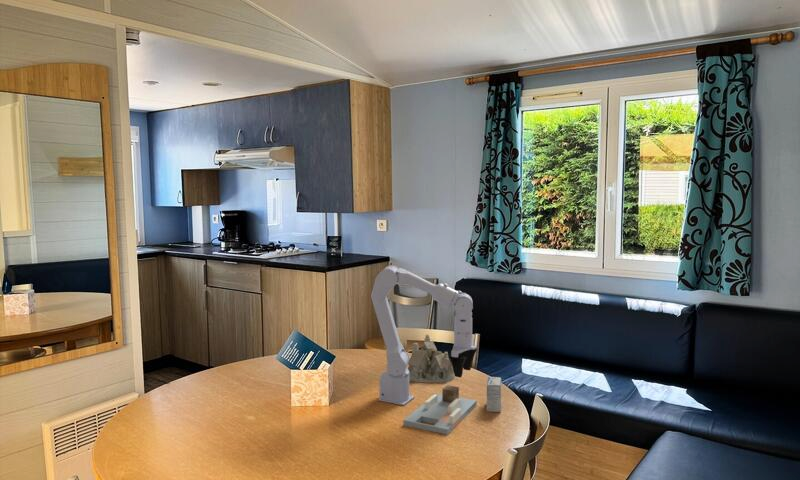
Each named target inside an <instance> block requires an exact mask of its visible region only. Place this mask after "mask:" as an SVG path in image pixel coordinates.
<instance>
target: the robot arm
mask: <svg viewBox="0 0 800 480" xmlns="http://www.w3.org/2000/svg"><path fill="white" fill-rule="evenodd" d="M397 284H398V287H402V286H411V287H413V288H415V289H417V290H421V291H422V292H425V293H427V294H429V295H430V296H432V297H431V298H432V300H434V301H435V302H438V303H440V304H442V305H444V306H446V307H448V308H453V309H454V311H455V312H454V313H455V314H454V315H455V316H454V321H453V322H454V324H453V327H454V329H453V330H454V331H453V332H454V335H453V338H454V339H453V345H452V346H453V347H452V350H450V351H451V353H448V358H449V360H450V361H451V364H452V367H453V371H454V375H455V378H462V376H463V372H464V370H465V371H471V369H472V365H473V360H474V358H475V355H476V352H478V348H477V347H476V345H475V340H474V339H473V317H472V316H473V312H472V310H473V309H474V306H473V305H474V304H473V303H474V302H473V299H472V296H471V295H469V294H467V293H466V292H462V291H461V290H456V289H453V288H452V287H449V284H448V283H444V284H443V283H441V282H440V283H437V284H434V283H433V282H431V281H428V280H426V279H424V278H423V277H420V276H419V275H416V274H414V273H413V272H411V271H409V270H407V269H404V268H402V267H398V266H396V265H394V264H389V265H386V266H385V268H383V269H382V270H381V271H380V272H379V273H378V274H377V276H376V277H375V279H374V284H373V287H372V291H371V294H370V297H371V298H370V299H371V301H372V305H373V308H374V313H375V314H376V315H375V316H376V318H377V323H378V324H379V325H378V326H379V328H380V331H381V335H382V338H383V342H384V345H385V354H386V355H385V356H386V360H387V362H386V370H385V371H382V373H381V374H380V378H379V398H378V401H380V402H385V403H389V404H395V405H400V406H405V405H406V404H408V403H409V402H410V401H412V400H413V399H414V398H415V396H414V395H412V394H411V395H410V380H409V370H408V367H407V366H409V365H408V363H409V360H410V355H409V353H408V352H407V351H406V350H405V348H404V345H403V343H402V342H401V340H400V339H401V338H400V335H399V333H398V330H397V326H396V323H395V318H394V316H393V312H392V309H391V305H390V302H389V299H388V296H389V294H390V292H391V291H392V289H393V288H394V287H395V286H396V285H397Z"/></svg>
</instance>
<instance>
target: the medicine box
mask: <svg viewBox="0 0 800 480" xmlns="http://www.w3.org/2000/svg"><path fill="white" fill-rule="evenodd" d="M502 380H503V379H502V377H499V376H498V377H497V376H488V377H487V381H486V382H487V383H486V412H490V413H491V412H492V413H501V412H502V385H503V384H502V382H503V381H502Z"/></svg>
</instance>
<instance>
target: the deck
mask: <svg viewBox="0 0 800 480" xmlns="http://www.w3.org/2000/svg"><path fill="white" fill-rule="evenodd" d="M477 401H478V400H476V399H471V398H464V397H460V396H459V399H455V400H454V401H453V402H452V403H449V402H444V401H442V393H438V392H436V393H435V394H433V395H432V396H431V397H429V398H428V399H426V400H425V401H424V403H423V404H421V406H419V407H418V408H417V409H416V410H414V411H413V412H412V413H410V414H409V415H408V416H406V417H405V418H404V419H403V426H404V427H409V428H414V429H419V430H423V431H426V432H427V431H428V432H433V433H438V434H442V435H446V436H447V435H449V434H450V433H452V431H453V430H454V429H455V428H456V427H457V426H458V425H459V424H460V423H461V422H462V421H463V420H464V419H465V418H466V417H467V416H468V414H470V413H471V412H472V411H473V409H475V407H476V406H478V405H477ZM422 422H423V423H422ZM432 424H433V425H432Z"/></svg>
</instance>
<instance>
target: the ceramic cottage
mask: <svg viewBox="0 0 800 480" xmlns="http://www.w3.org/2000/svg"><path fill="white" fill-rule="evenodd" d="M448 355H449V353H448V351H444V353H443V352H442V351H438V349H437V346H436V345H435V342H434V340H432V339H431V338H430V336H429V334H425V337H424V341H423V344H422V346H421V348H420V349H419V343H418V342H413V343H412V350H411V356H410V357H409V363H408V365H407V366H408V367H407V369H408V370H409V382H412V383H413V382H416V383H441V384H443V383H448V382H450V381H453V380H456V377H455V375H454V371H453V367H452V364H451V361H450V360H449V358H448Z"/></svg>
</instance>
